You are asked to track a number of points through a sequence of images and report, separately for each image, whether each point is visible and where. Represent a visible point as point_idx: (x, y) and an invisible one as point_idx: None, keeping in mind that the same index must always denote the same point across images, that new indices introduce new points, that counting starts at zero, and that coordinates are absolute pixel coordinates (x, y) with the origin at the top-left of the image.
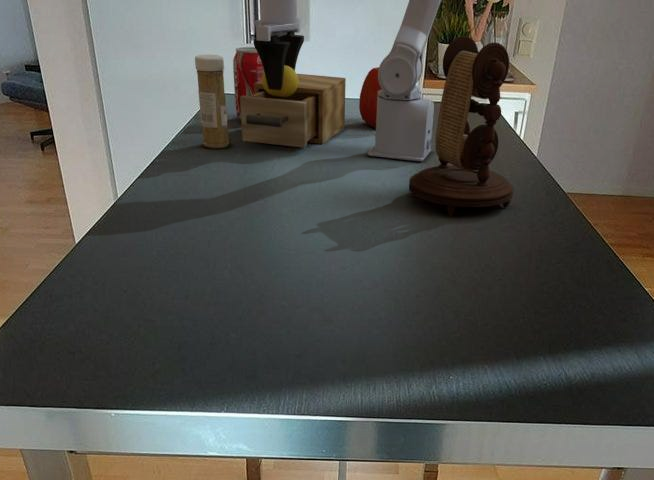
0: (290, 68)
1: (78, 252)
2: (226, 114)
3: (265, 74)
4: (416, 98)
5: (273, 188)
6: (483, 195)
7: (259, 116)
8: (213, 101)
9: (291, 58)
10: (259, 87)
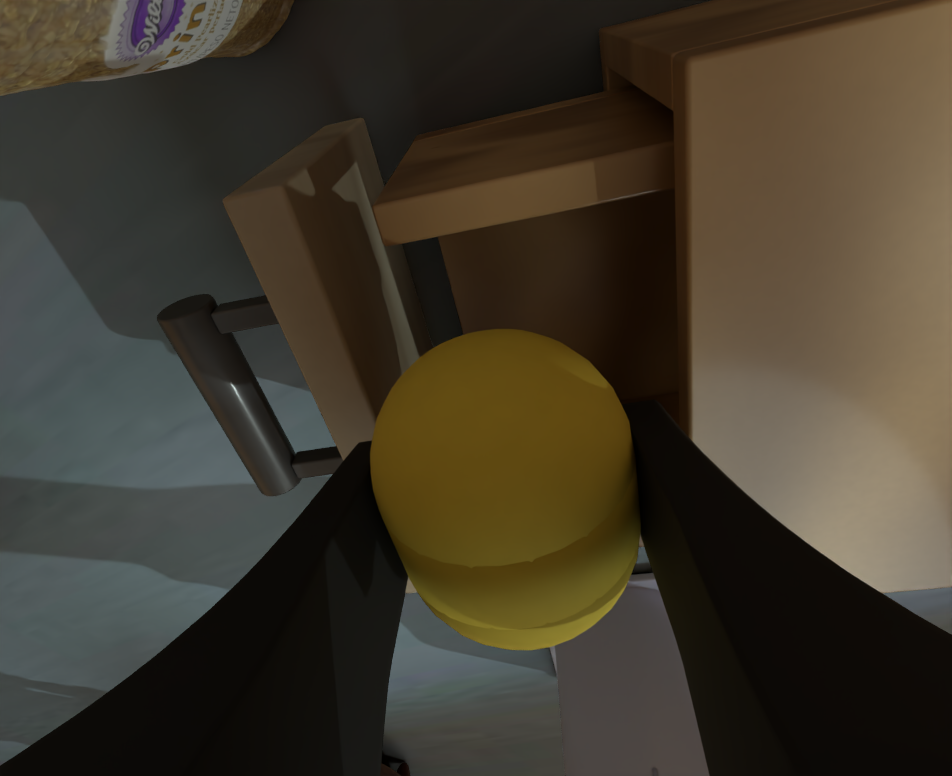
0: (524, 649)
1: None
2: (176, 59)
3: (303, 514)
4: None
5: (26, 527)
6: None
7: (206, 395)
8: None
9: (689, 679)
10: (677, 127)
